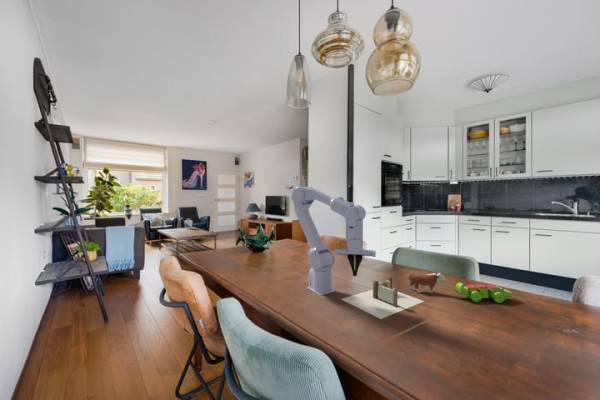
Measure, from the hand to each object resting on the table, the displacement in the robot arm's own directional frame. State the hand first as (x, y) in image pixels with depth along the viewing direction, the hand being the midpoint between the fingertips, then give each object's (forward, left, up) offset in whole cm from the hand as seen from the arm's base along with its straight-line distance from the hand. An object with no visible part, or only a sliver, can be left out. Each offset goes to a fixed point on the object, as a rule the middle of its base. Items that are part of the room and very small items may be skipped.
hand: (354, 275), depth 93 cm
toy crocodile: (+25, +42, -10) cm, 50 cm away
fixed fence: (+3, +12, -9) cm, 15 cm away
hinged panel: (+8, +8, -9) cm, 14 cm away
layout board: (+6, +8, -9) cm, 14 cm away
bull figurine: (+10, +30, -10) cm, 33 cm away
